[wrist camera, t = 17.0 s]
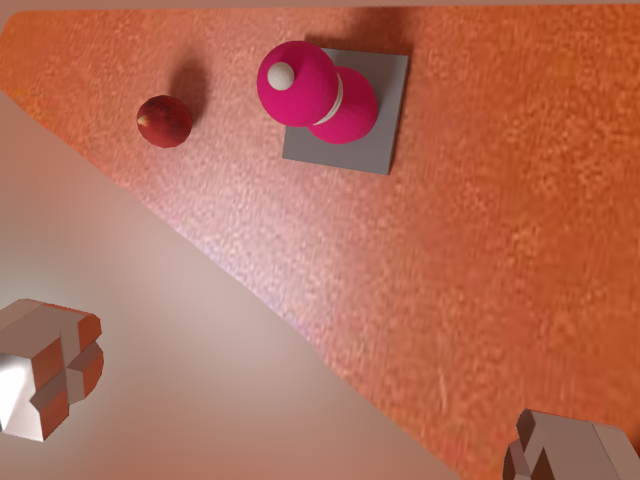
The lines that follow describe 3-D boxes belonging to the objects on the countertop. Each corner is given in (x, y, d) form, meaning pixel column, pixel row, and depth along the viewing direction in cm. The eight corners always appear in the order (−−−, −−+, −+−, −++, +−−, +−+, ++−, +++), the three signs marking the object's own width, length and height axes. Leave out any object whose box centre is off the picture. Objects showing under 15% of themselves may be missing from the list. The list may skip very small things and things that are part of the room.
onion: (168, 95, 56) (122, 83, 49) (208, 107, 55) (168, 96, 47) (159, 142, 58) (113, 137, 50) (198, 154, 56) (157, 152, 49)
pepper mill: (367, 63, 47) (302, -9, 28) (393, 128, 47) (346, 100, 29) (306, 95, 50) (209, 49, 31) (331, 157, 50) (251, 149, 31)
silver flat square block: (409, 59, 47) (408, 55, 46) (389, 175, 50) (386, 175, 48) (301, 49, 51) (296, 45, 49) (286, 158, 53) (282, 158, 52)
